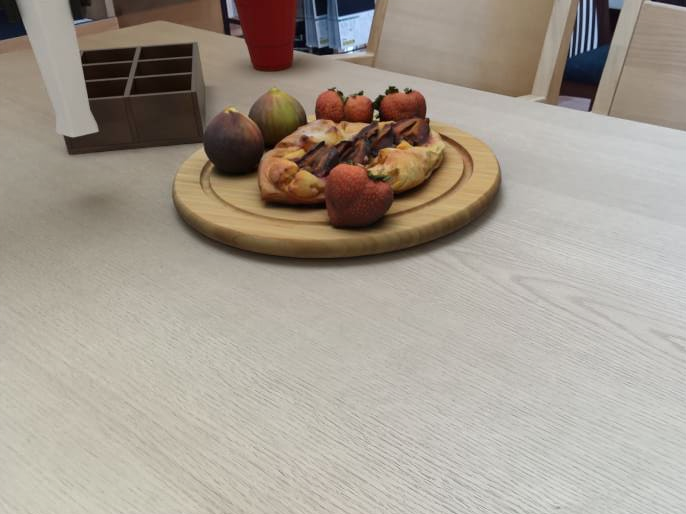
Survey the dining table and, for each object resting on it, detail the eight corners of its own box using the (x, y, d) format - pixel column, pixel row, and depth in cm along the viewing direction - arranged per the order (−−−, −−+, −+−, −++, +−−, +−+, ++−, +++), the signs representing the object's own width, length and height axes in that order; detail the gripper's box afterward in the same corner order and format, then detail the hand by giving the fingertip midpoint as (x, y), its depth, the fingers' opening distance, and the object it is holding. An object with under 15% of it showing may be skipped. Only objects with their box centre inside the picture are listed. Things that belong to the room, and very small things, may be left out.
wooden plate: (510, 269, 61) (519, 171, 56) (127, 264, 63) (102, 169, 58) (492, 131, 86) (497, 54, 81) (219, 131, 88) (207, 56, 83)
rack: (68, 154, 83) (53, 102, 79) (91, 94, 100) (79, 50, 97) (205, 142, 85) (196, 91, 82) (204, 85, 102) (197, 41, 99)
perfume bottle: (92, 118, 73) (48, -61, 63) (111, 130, 70) (68, -55, 61) (45, 128, 70) (-8, -56, 61) (62, 141, 68) (10, -49, 58)
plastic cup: (326, 64, 109) (319, -29, 102) (265, 80, 103) (254, -17, 96) (281, 51, 115) (272, -37, 108) (222, 66, 110) (208, -27, 102)
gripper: (-176, -270, 49) (-69, 33, 60) (94, -267, 51) (148, 23, 63) (-136, -263, 54) (-45, 12, 66) (105, -260, 57) (152, 4, 68)
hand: (48, 15), depth 64 cm, fingers closed on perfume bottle, 4 cm apart
